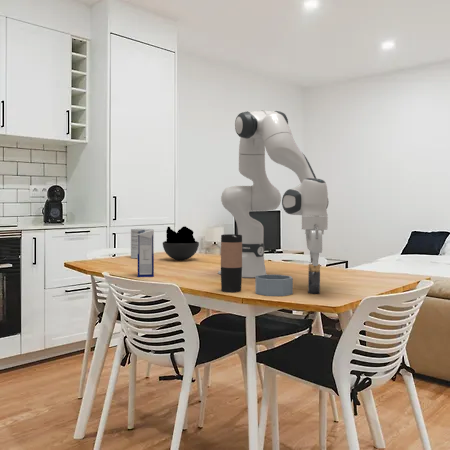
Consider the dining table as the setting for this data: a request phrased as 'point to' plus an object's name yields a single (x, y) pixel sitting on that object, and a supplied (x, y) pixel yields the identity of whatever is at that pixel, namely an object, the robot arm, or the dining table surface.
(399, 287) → the dining table surface
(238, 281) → the travel mug
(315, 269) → the battery cell
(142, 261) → the milk carton
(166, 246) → the coal bowl
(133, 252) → the supplement box
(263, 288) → the cup
